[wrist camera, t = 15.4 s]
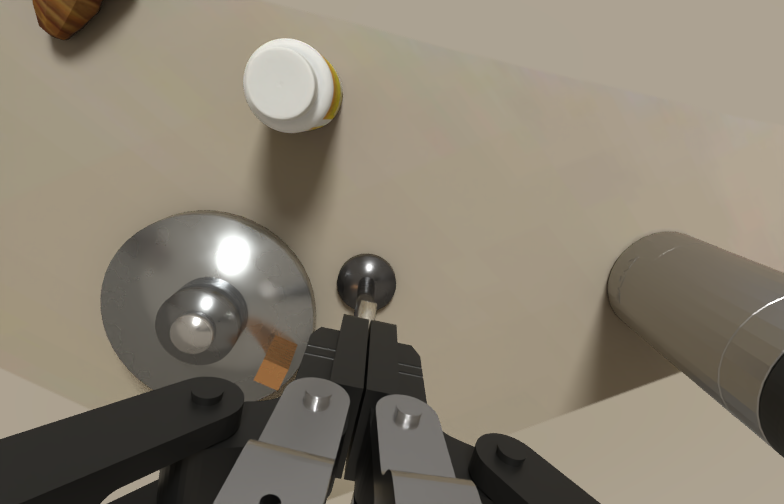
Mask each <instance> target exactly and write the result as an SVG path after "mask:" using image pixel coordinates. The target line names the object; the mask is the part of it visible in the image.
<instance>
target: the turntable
mask: <svg viewBox="0 0 784 504" xmlns="http://www.w3.org/2000/svg"><path fill="white" fill-rule="evenodd" d="M202 277H212V278H218V279H221V280H224V281H226V282H228V283H230V284H231V285H233V286H234V287H235V288H236V289H237V290H238V291H239V292H240V293H241V294H242V296H243V297H244V299H245V301H246V304H247V308H248V322H247V325H246V327H245V329H244V331H243V333H242V334H241V336H240V337H239V339H238V340H237V342H236V343H235V345H234V347H233V348H232V350H231V351H230V352H229V353H228V354H227V355H226V356H225V357H224V358H223V359H221V360H219V361H217V362H215V363H212V364H208V365H192V364H188V363H185V362H182V361H180V360H178V359H176V358H174V357H173V356H172V355H170V354H169V353H168V352H167V351H166V350H165V349H164V348H163V346H162V345H161V343H160V342H159V340H158V337H157V334H156V330H155V319H156V315H157V312H158V310H159V308H160V307H161V305H162V304H163V303H164V302H165V301H166V300H167V299H168V298H170V297H171V296H172V295H173V294H174V293H175V292H177V291H178V290H179V289H180V288H181V287H182V286H184V285H185V284H186V283H188V282H190V281H191V280H194V279H197V278H202ZM101 314H102V320H103V325H104V328H105V331H106V334H107V337H108V339H109V341H110V343H111V345H112V348H113V349H114V351H115V352H116V354H117V355H118V357H119V359H120V360H121V361H122V362H123V364H124V365H125V366H126V367H127V368H128V370H129V371H130V372H132V373H133V374H134V375H135V376H136V377H137V378H138V379H139V380H140V381H142V382H143V383H144V384H145V385H147V386H148V387H150V388H151V389H153V390H156V389H159V388H162V387H165V386H168V385H171V384H174V383H178V382H181V381H184V380H187V379H191V378H196V377H218V378H222V379H226V380H229V381H231V382H233V383H235V384H236V385H237V386H239V387H240V388H241V390H242V391H243V394H244V401H257V400H260V399H262V398H264V397H266V396H268V395H270V394H272V393H273V392H274V391H276V390H277V391H278V390H279V388H280V387H281V386H283V385H284V384H285V383H286V382H287V381H288V380H289V379H290V378H291V377H292V376H293V374H294V373H295V372H296V371H297V370H298V368H299V366H300V364H301V361H302V358H303V355H304V353H305V350H306V347H307V344H308V341H309V338H310V335H311V334H312V333H313V331H314V327H315V318H316V307H315V298H314V292H313V289H312V286H311V282H310V279H309V277H308V275H307V273H306V271H305V269H304V267H303V265H302V264H301V262H300V261H299V259H298V258H297V256H296V255H295V254H294V252H293V251H292V250H291V249H290V248H289V247H288V245H286V244H285V243H284V242H283V241H282V240H281V239H280V238H279V237H278V236H276V235H275V234H274V233H272V232H271V231H269V230H268V229H267V228H265V227H263V226H261V225H260V224H258V223H256V222H254V221H252V220H249V219H247V218H244V217H242V216H238V215H235V214H231V213H227V212H220V211H210V210H198V211H190V212H183V213H179V214H176V215H172V216H169V217H167V218H164V219H162V220H160V221H157V222H155V223H153V224H151V225H149V226H147V227H146V228H144V229H142V230H141V231H139V232H137V233H136V234H135V235H133V236H132V237H131V238H130V239H129V240H127V241H126V242H125V243H124V245H123V246H122V247H121V248H120V249H119V250H118V251H117V253H116V254H115V256H114V257H113V259H112V260H111V262H110V264H109V267H108V269H107V271H106V273H105V277H104V280H103V284H102V290H101Z"/></svg>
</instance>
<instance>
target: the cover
mask: <svg viewBox="0 0 784 504" xmlns="http://www.w3.org/2000/svg"><path fill="white" fill-rule="evenodd" d="M247 322H248V308H247V304H246V301H245V299H244V297H243V296H242V294H241V293H240V292H239V291H238V290H237V289H236V288H235V287H234V286H233V285H231V284H230V283H228V282H226V281H224V280H221V279H218V278H212V277H202V278H197V279H194V280H191V281H190V282H188V283H186V284H185V285H184V286H182V287H181V288H180V289H179V290H178V291H177V292H175V293H174V294H173V295H172V296H171V297H170V298H168V299H167V300H166V301H165V302H164V303H163V304H162V305H161V307H160V308H159V310H158V312H157V315H156V319H155V330H156V334H157V337H158V340H159V342H160V343H161V345H162V346H163V348H164V349H165V350H166V351H167V352H168V353H169V354H170V355H172V356H173V357H174V358H176V359H178V360H180V361H182V362H185V363H188V364H192V365H208V364H212V363H215V362H217V361H219V360H221V359H223V358H224V357H225V356H226V355H227V354H228V353H229V352H230V351H231V350H232V348H233V347H234V345H235V343H236V342H237V340H238V339H239V337H240V336H241V334H242V333H243V331H244V329H245V327H246V325H247Z"/></svg>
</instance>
